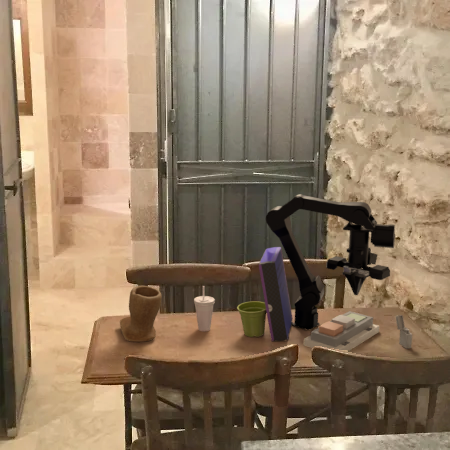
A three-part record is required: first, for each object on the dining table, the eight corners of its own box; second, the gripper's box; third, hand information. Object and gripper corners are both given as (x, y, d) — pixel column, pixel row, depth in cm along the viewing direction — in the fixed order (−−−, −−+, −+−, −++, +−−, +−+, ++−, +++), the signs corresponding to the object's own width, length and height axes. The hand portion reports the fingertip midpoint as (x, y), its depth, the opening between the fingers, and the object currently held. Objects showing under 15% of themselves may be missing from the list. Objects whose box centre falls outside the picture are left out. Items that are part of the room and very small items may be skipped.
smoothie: (190, 331, 203) (190, 287, 199) (199, 323, 208) (199, 281, 205) (209, 334, 200) (209, 290, 197) (217, 326, 206) (218, 284, 203)
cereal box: (277, 320, 212) (265, 248, 208) (292, 318, 211) (280, 246, 207) (271, 341, 196) (258, 263, 191) (287, 340, 195) (274, 261, 190)
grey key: (331, 327, 197) (331, 319, 196) (339, 322, 201) (340, 314, 200) (346, 331, 194) (346, 323, 193) (354, 326, 198) (354, 318, 197)
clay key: (318, 334, 192) (319, 325, 191) (327, 329, 196) (328, 321, 195) (333, 338, 189) (334, 330, 188) (342, 333, 192) (343, 325, 192)
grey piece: (303, 345, 193) (304, 330, 192) (344, 322, 211) (345, 309, 210) (339, 356, 186) (340, 341, 185) (378, 331, 203) (379, 318, 202)
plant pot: (232, 335, 201) (230, 308, 199) (252, 325, 207) (251, 299, 205) (255, 342, 194) (254, 314, 192) (275, 332, 201) (274, 305, 199)
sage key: (342, 325, 203) (343, 317, 202) (351, 320, 206) (351, 313, 206) (357, 329, 200) (357, 321, 199) (365, 324, 203) (365, 316, 203)
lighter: (411, 348, 192) (413, 322, 190) (406, 348, 191) (408, 322, 190) (398, 338, 199) (400, 313, 197) (393, 339, 198) (395, 313, 196)
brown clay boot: (164, 343, 194) (164, 294, 190) (123, 346, 191) (122, 297, 188) (157, 324, 208) (157, 278, 205) (119, 327, 206) (118, 280, 202)
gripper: (400, 245, 197) (396, 294, 201) (344, 235, 209) (342, 282, 213) (382, 252, 189) (379, 304, 193) (326, 241, 201) (324, 290, 204)
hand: (356, 294), depth 201 cm, fingers closed
